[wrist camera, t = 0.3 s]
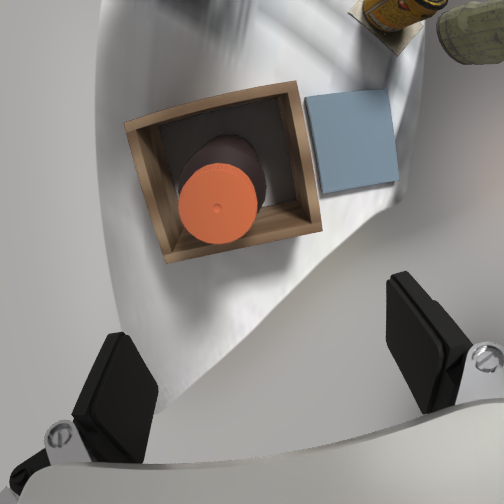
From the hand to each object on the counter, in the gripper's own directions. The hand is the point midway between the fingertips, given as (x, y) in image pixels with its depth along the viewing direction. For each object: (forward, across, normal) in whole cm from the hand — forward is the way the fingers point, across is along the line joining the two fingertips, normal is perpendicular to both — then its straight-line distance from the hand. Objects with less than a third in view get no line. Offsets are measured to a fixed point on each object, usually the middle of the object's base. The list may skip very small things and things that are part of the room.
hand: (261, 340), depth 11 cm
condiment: (+31, -23, -17) cm, 42 cm away
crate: (+30, +2, -2) cm, 30 cm away
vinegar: (+30, +2, -2) cm, 31 cm away
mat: (+30, -14, -2) cm, 33 cm away
